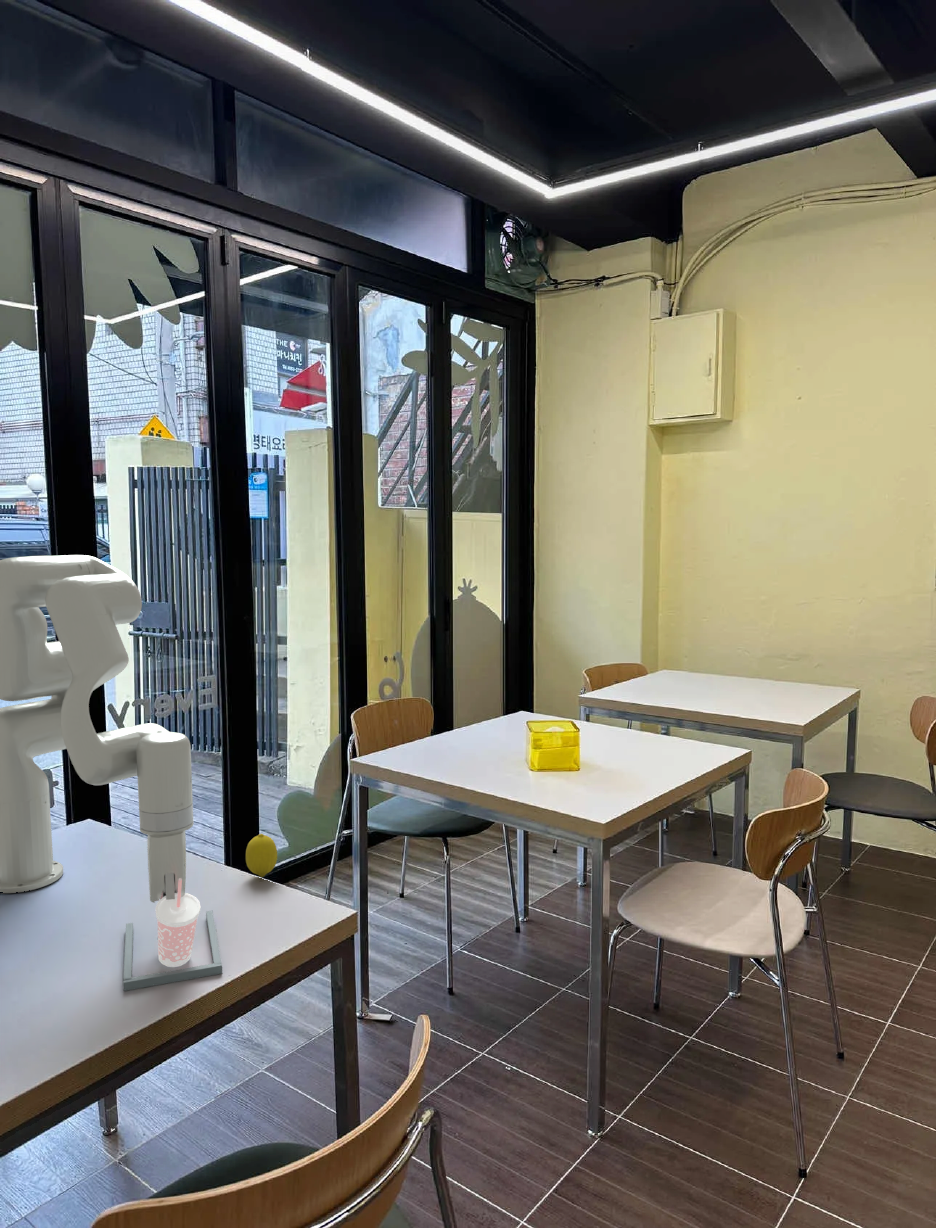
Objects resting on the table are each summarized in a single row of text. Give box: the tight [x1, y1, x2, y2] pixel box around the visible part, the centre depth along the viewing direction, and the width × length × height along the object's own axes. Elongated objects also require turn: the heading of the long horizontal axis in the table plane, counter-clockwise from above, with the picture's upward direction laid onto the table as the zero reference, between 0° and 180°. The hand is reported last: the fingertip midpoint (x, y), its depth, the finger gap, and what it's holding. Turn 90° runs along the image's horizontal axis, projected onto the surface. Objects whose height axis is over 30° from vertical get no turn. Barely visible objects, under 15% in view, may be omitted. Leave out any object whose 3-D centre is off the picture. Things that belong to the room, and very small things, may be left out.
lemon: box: [245, 833, 278, 878], centre depth 155 cm, size 6×6×8 cm
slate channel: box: [122, 910, 223, 992], centre depth 129 cm, size 18×13×1 cm
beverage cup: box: [155, 878, 202, 968], centre depth 123 cm, size 6×6×14 cm
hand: (171, 935), depth 129 cm, fingers closed
